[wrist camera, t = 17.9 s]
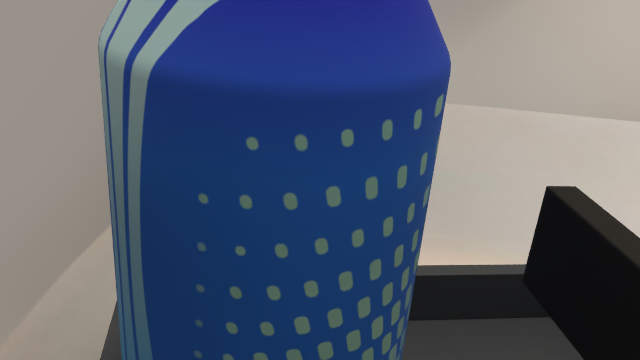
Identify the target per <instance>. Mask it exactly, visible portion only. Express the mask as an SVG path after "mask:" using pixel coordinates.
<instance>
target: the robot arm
mask: <svg viewBox="0 0 640 360" xmlns="http://www.w3.org/2000/svg"><path fill="white" fill-rule="evenodd" d="M522 282H523V283H524V284H525V286H526V287H527V288H528V289H529V291H530V292H531V293H532V295H533V296H534V297H535V298H536V300H537V301H538V302H539V303H540V305H541V306H542V307H543V308H544V310H545V311H546V312H547V314H548V315H549V316H550V317H551V319H552V320H553V321H554V322H555V324H556V325H557V326H558V328H559V329H560V330H561V331H562V333H563V334H564V335H565V336H566V338H567V339H568V340H569V341H570V343H571V344H572V345H573V347H574V348H575V349H576V350H577V352H578V353H579V354H580V355H581V357H582V358H583V359H584V360H640V238H639V237H638V236H636V235H635V234H634V233H633V232H631V231H630V230H629V229H628V228H626V227H625V226H624V225H623V224H622V223H620V222H619V221H618V220H617V219H615V218H614V217H613V216H612V215H610V214H609V213H608V212H607V211H605V210H604V209H603V208H602V207H600V206H599V205H598V204H597V203H595V202H594V201H593V200H592V199H590V198H589V197H588V196H587V195H585V194H584V193H583V192H582V191H580V190H579V189H578V188H577V187H571V186H547V187H546V191H545V194H544V198H543V202H542V206H541V210H540V214H539V218H538V222H537V225H536V229H535V233H534V237H533V241H532V245H531V249H530V252H529V256H528V260H527V264H526V268H525V272H524V276H523V279H522Z"/></svg>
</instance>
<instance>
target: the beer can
mask: <svg viewBox="0 0 640 360" xmlns="http://www.w3.org/2000/svg"><path fill="white" fill-rule="evenodd" d="M98 52H99V65H100V78H101V92H102V105H103V117H104V131H105V145H106V158H107V170H108V184H109V197H110V210H111V224H112V237H113V250H114V263H115V277H116V290H117V303H118V316H119V329H120V342H121V356H122V360H401V359H402V354H403V348H404V342H405V336H406V330H407V324H408V318H409V312H410V306H411V301H412V295H413V289H414V283H415V277H416V271H417V265H418V259H419V254H420V248H421V242H422V236H423V230H424V224H425V218H426V212H427V207H428V201H429V195H430V189H431V183H432V177H433V171H434V165H435V159H436V154H437V148H438V142H439V136H440V130H441V124H442V118H443V112H444V107H445V101H446V95H447V89H448V83H449V77H450V70H451V69H450V68H451V62H450V56H449V52H448V49H447V47H446V44H445V42H444V39H443V37H442V34H441V32H440V29H439V27H438V24H437V22H436V19H435V17H434V14H433V12H432V9H431V7H430V4H429V2H428V0H118V1H117V3H116V5H115V6H114V8H113V10H112V12H111V14H110V16H109V17H108V19H107V21H106V23H105V25H104V26H103V29H102V31H101V34H100V37H99V45H98Z"/></svg>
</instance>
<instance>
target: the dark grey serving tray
mask: <svg viewBox="0 0 640 360" xmlns="http://www.w3.org/2000/svg"><path fill="white" fill-rule="evenodd" d="M525 268H526V264H525V265H424V266H417V271H416V277H415V283H414V289H413V295H412V301H411V306H410V312H409V318H408V324H407V330H406V336H405V342H404V348H403V354H402V359H401V360H584V359H583V358H582V357H581V355H580V354H579V353H578V352H577V350H576V349H575V348H574V347H573V345H572V344H571V343H570V341H569V340H568V339H567V338H566V336H565V335H564V334H563V333H562V331H561V330H560V329H559V328H558V326H557V325H556V324H555V322H554V321H553V320H552V319H551V317H550V316H549V315H548V314H547V312H546V311H545V310H544V308H543V307H542V306H541V305H540V303H539V302H538V301H537V300H536V298H535V297H534V296H533V295H532V293H531V292H530V291H529V289H528V288H527V287H526V286H525V284H524V283H523V282H522V279H523V276H524V272H525ZM100 360H122V356H121V342H120V329H119V316H118V303H117V302H116V306H115V309H114V313H113V316H112V320H111V323H110V327H109V330H108V334H107V337H106V341H105V344H104V348H103V351H102V355H101V358H100Z"/></svg>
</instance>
